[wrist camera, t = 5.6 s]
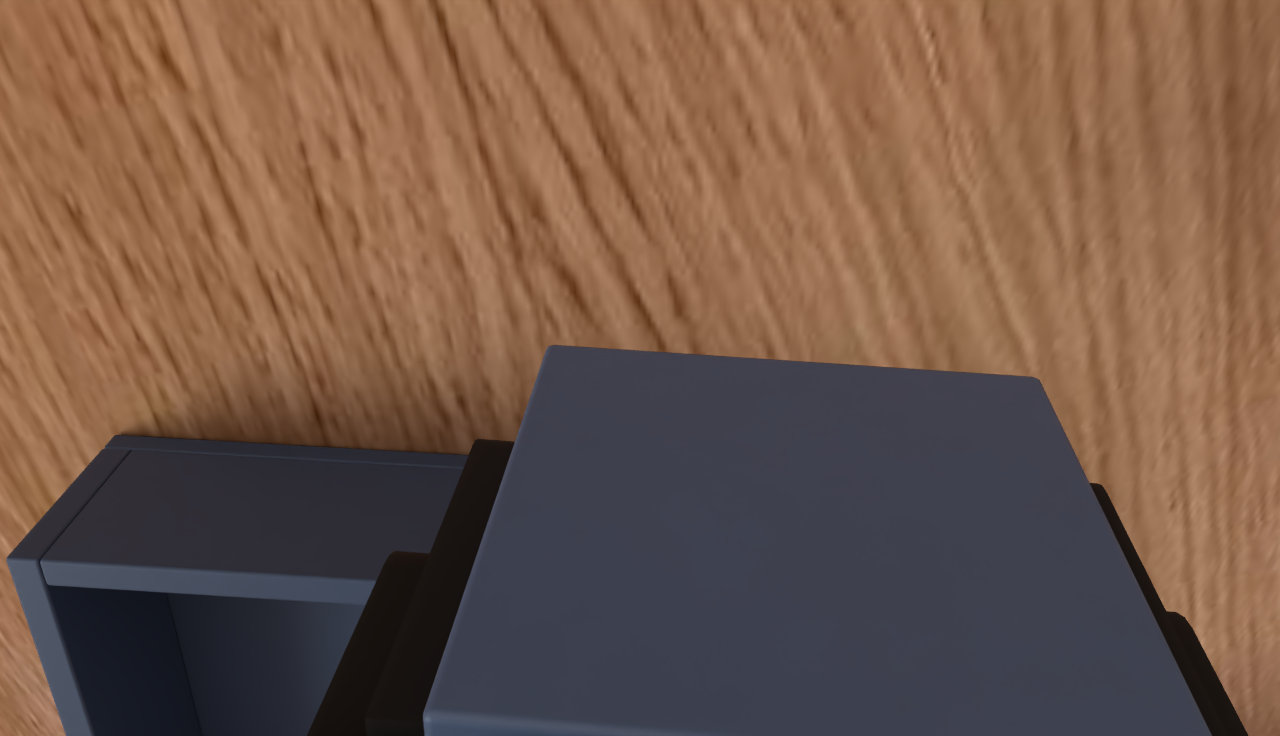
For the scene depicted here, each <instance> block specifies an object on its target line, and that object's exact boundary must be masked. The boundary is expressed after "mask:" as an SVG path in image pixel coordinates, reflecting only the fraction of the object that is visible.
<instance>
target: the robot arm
mask: <svg viewBox="0 0 1280 736" xmlns="http://www.w3.org/2000/svg"><path fill="white" fill-rule="evenodd" d="M514 444H515V442H513V441H499V440H485V439H477V440H475V442H474V444H473V446H472V448H471V451H470V453H469V456H468V458H467V461H466V463H465V466H464V468H463V471H462V473H461V476H460V478H459V481H458V484H457V486H456V489H455V491H454V494H453V496H452V499H451V501H450V504H449V506H448V509H447V511H446V514H445V516H444V519H443V521H442V524H441V526H440V529H439V531H438V534H437V536H436V539H435V541H434V544H433V546H432V549H431V551H430V553H417V552H404V551H394V552H392V553H391V554H390V555H389V556H388V558H387V560H386V561H385V563H384V565H383V567H382V569H381V572H380V574H379V576H378V578H377V581H376V583H375V585H374V587H373V589H372V592H371V594H370V596H369V598H368V601H367V603H366V605H365V607H364V609H363V612H362V614H361V616H360V618H359V621H358V623H357V625H356V627H355V629H354V632H353V634H352V636H351V638H350V641H349V643H348V645H347V647H346V649H345V652H344V654H343V656H342V658H341V661H340V663H339V665H338V667H337V669H336V672H335V674H334V676H333V678H332V681H331V683H330V685H329V687H328V689H327V692H326V694H325V696H324V698H323V701H322V703H321V705H320V707H319V709H318V712H317V714H316V716H315V718H314V721H313V723H312V725H311V727H310V729H309V732H308V734H307V736H425V733H424V722H423V713H424V710H425V707H426V704H427V701H428V698H429V695H430V692H431V689H432V686H433V683H434V680H435V677H436V674H437V671H438V668H439V665H440V662H441V659H442V656H443V653H444V650H445V648H446V645H447V642H448V639H449V636H450V633H451V630H452V627H453V624H454V621H455V618H456V615H457V612H458V609H459V606H460V603H461V600H462V597H463V594H464V591H465V588H466V585H467V582H468V580H469V577H470V574H471V571H472V568H473V565H474V562H475V559H476V556H477V553H478V550H479V547H480V544H481V541H482V538H483V535H484V532H485V529H486V526H487V523H488V520H489V517H490V514H491V512H492V509H493V506H494V503H495V500H496V497H497V494H498V491H499V488H500V485H501V482H502V479H503V476H504V473H505V470H506V467H507V464H508V461H509V458H510V455H511V452H512V449H513V446H514ZM1090 485H1091V487H1092V490H1093V492H1094V494H1095V496H1096V498H1097V500H1098V502H1099V504H1100V506H1101V508H1102V510H1103V512H1104V514H1105V516H1106V518H1107V520H1108V523H1109V525H1110V527H1111V529H1112V531H1113V533H1114V535H1115V537H1116V539H1117V541H1118V543H1119V545H1120V547H1121V549H1122V551H1123V553H1124V556H1125V558H1126V560H1127V562H1128V564H1129V566H1130V568H1131V570H1132V572H1133V574H1134V576H1135V578H1136V580H1137V582H1138V584H1139V587H1140V589H1141V591H1142V593H1143V595H1144V597H1145V599H1146V601H1147V603H1148V605H1149V607H1150V609H1151V611H1152V613H1153V615H1154V617H1155V620H1156V622H1157V624H1158V626H1159V628H1160V630H1161V632H1162V634H1163V636H1164V638H1165V640H1166V642H1167V644H1168V646H1169V648H1170V650H1171V653H1172V655H1173V657H1174V659H1175V661H1176V663H1177V665H1178V667H1179V669H1180V671H1181V673H1182V675H1183V677H1184V679H1185V681H1186V683H1187V686H1188V688H1189V690H1190V692H1191V694H1192V696H1193V698H1194V700H1195V702H1196V704H1197V706H1198V708H1199V710H1200V712H1201V714H1202V716H1203V719H1204V721H1205V723H1206V725H1207V727H1208V729H1209V731H1210V733H1211V735H1212V736H1248V734H1247V732H1246V730H1245V728H1244V726H1243V724H1242V722H1241V721H1240V719H1239V717H1238V715H1237V713H1236V711H1235V709H1234V707H1233V705H1232V703H1231V701H1230V699H1229V698H1228V696H1227V694H1226V692H1225V690H1224V688H1223V686H1222V684H1221V682H1220V680H1219V678H1218V676H1217V675H1216V673H1215V671H1214V669H1213V667H1212V665H1211V663H1210V661H1209V659H1208V657H1207V655H1206V653H1205V652H1204V650H1203V648H1202V646H1201V644H1200V642H1199V640H1198V638H1197V636H1196V634H1195V632H1194V630H1193V629H1192V627H1191V626H1190V624H1189V623H1188V621H1187V620H1186V619H1185V617H1183V616H1182V615H1180V614H1178V613H1177V612H1169V611H1166V610H1165V608H1164V606H1163V604H1162V602H1161V600H1160V598H1159V596H1158V594H1157V592H1156V590H1155V588H1154V586H1153V584H1152V582H1151V580H1150V578H1149V576H1148V574H1147V572H1146V570H1145V568H1144V566H1143V564H1142V562H1141V560H1140V558H1139V556H1138V554H1137V552H1136V550H1135V548H1134V546H1133V544H1132V542H1131V540H1130V538H1129V536H1128V534H1127V532H1126V530H1125V528H1124V526H1123V524H1122V522H1121V520H1120V518H1119V516H1118V514H1117V512H1116V510H1115V508H1114V506H1113V504H1112V502H1111V500H1110V498H1109V496H1108V494H1107V492H1106V491H1105V489H1104V488H1103V486H1102V485H1100V484H1097V483H1090Z"/></svg>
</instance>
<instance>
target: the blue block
mask: <svg viewBox="0 0 1280 736" xmlns="http://www.w3.org/2000/svg"><path fill="white" fill-rule="evenodd" d="M423 722H424V733H425V736H1212V735H1211V733H1210V731H1209V729H1208V727H1207V725H1206V723H1205V721H1204V719H1203V716H1202V714H1201V712H1200V710H1199V708H1198V706H1197V704H1196V702H1195V700H1194V698H1193V696H1192V694H1191V692H1190V690H1189V688H1188V686H1187V683H1186V681H1185V679H1184V677H1183V675H1182V673H1181V671H1180V669H1179V667H1178V665H1177V663H1176V661H1175V659H1174V657H1173V655H1172V653H1171V650H1170V648H1169V646H1168V644H1167V642H1166V640H1165V638H1164V636H1163V634H1162V632H1161V630H1160V628H1159V626H1158V624H1157V622H1156V620H1155V617H1154V615H1153V613H1152V611H1151V609H1150V607H1149V605H1148V603H1147V601H1146V599H1145V597H1144V595H1143V593H1142V591H1141V589H1140V587H1139V584H1138V582H1137V580H1136V578H1135V576H1134V574H1133V572H1132V570H1131V568H1130V566H1129V564H1128V562H1127V560H1126V558H1125V556H1124V553H1123V551H1122V549H1121V547H1120V545H1119V543H1118V541H1117V539H1116V537H1115V535H1114V533H1113V531H1112V529H1111V527H1110V525H1109V523H1108V520H1107V518H1106V516H1105V514H1104V512H1103V510H1102V508H1101V506H1100V504H1099V502H1098V500H1097V498H1096V496H1095V494H1094V492H1093V490H1092V487H1091V485H1090V483H1089V481H1088V479H1087V477H1086V475H1085V473H1084V471H1083V469H1082V467H1081V465H1080V463H1079V461H1078V459H1077V457H1076V454H1075V452H1074V450H1073V448H1072V446H1071V444H1070V442H1069V440H1068V438H1067V436H1066V434H1065V432H1064V430H1063V428H1062V426H1061V424H1060V421H1059V419H1058V417H1057V415H1056V413H1055V411H1054V409H1053V407H1052V405H1051V403H1050V401H1049V399H1048V397H1047V395H1046V393H1045V391H1044V388H1043V386H1042V384H1041V382H1040V380H1038V379H1037V378H1034V377H1027V376H1012V375H997V374H982V373H967V372H952V371H937V370H922V369H907V368H892V367H877V366H862V365H847V364H832V363H817V362H802V361H787V360H772V359H757V358H742V357H727V356H712V355H697V354H682V353H666V352H651V351H636V350H621V349H606V348H591V347H576V346H561V345H552V346H549V347H548V348H547V350H546V352H545V355H544V358H543V361H542V364H541V367H540V370H539V373H538V376H537V378H536V381H535V384H534V387H533V390H532V393H531V396H530V399H529V402H528V405H527V408H526V411H525V414H524V417H523V420H522V423H521V426H520V429H519V432H518V435H517V438H516V441H515V444H514V446H513V449H512V452H511V455H510V458H509V461H508V464H507V467H506V470H505V473H504V476H503V479H502V482H501V485H500V488H499V491H498V494H497V497H496V500H495V503H494V506H493V509H492V512H491V514H490V517H489V520H488V523H487V526H486V529H485V532H484V535H483V538H482V541H481V544H480V547H479V550H478V553H477V556H476V559H475V562H474V565H473V568H472V571H471V574H470V577H469V580H468V582H467V585H466V588H465V591H464V594H463V597H462V600H461V603H460V606H459V609H458V612H457V615H456V618H455V621H454V624H453V627H452V630H451V633H450V636H449V639H448V642H447V645H446V648H445V650H444V653H443V656H442V659H441V662H440V665H439V668H438V671H437V674H436V677H435V680H434V683H433V686H432V689H431V692H430V695H429V698H428V701H427V704H426V707H425V710H424V713H423Z"/></svg>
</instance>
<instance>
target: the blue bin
mask: <svg viewBox="0 0 1280 736" xmlns="http://www.w3.org/2000/svg"><path fill="white" fill-rule="evenodd" d="M468 456H469V455H455V454H438V453H420V452H403V451H386V450H368V449H351V448H334V447H316V446H299V445H282V444H264V443H247V442H230V441H212V440H195V439H178V438H160V437H143V436H126V435H115V436H114V437H113V438H112V439H111V440H110V441H109V442H108V444H107V445H106V446H105V449H102V450H101V451H100V453H99V454H98V455H97V456H96V457H95V458H94V459H93V461H92V462H91V463H90V464H89V465H88V466H87V467H86V468H85V470H84V471H83V472H82V473H81V474H80V475H79V476H78V478H77V479H76V480H75V481H74V482H73V483H72V484H71V485H70V487H69V488H68V489H67V490H66V491H65V492H64V493H63V495H62V496H61V497H60V498H59V499H58V500H57V501H56V502H55V504H54V505H53V506H52V507H51V508H50V509H49V510H48V512H47V513H46V514H45V515H44V516H43V517H42V518H41V519H40V521H39V522H38V523H37V524H36V525H35V526H34V527H33V529H32V530H31V531H30V532H29V533H28V534H27V535H26V536H25V538H24V539H23V540H22V541H21V542H20V543H19V544H18V546H17V547H16V548H15V549H14V550H13V551H12V552H11V553H10V555H9V556H8V557H7V564H8V567H9V569H10V572H11V575H12V578H13V581H14V584H15V587H16V590H17V593H18V596H19V599H20V602H21V605H22V608H23V611H24V613H25V616H26V619H27V622H28V625H29V628H30V631H31V634H32V637H33V640H34V643H35V646H36V649H37V652H38V654H39V657H40V660H41V663H42V666H43V669H44V672H45V675H46V678H47V681H48V684H49V687H50V690H51V693H52V696H53V698H54V701H55V704H56V707H57V710H58V713H59V716H60V719H61V722H62V725H63V728H64V731H65V734H66V736H307V734H308V732H309V729H310V727H311V725H312V723H313V721H314V718H315V716H316V714H317V712H318V709H319V707H320V705H321V703H322V701H323V698H324V696H325V694H326V692H327V689H328V687H329V685H330V683H331V681H332V678H333V676H334V674H335V672H336V669H337V667H338V665H339V663H340V661H341V658H342V656H343V654H344V652H345V649H346V647H347V645H348V643H349V641H350V638H351V636H352V634H353V632H354V629H355V627H356V625H357V623H358V621H359V618H360V616H361V614H362V612H363V609H364V607H365V605H366V603H367V601H368V598H369V596H370V594H371V592H372V589H373V587H374V585H375V583H376V581H377V578H378V576H379V574H380V572H381V569H382V567H383V565H384V563H385V561H386V560H387V558H388V556H389V555H390V554H391V553H392V552H394V551H404V552H417V553H430V551H431V549H432V546H433V544H434V541H435V539H436V536H437V534H438V531H439V529H440V526H441V524H442V521H443V519H444V516H445V514H446V511H447V509H448V506H449V504H450V501H451V499H452V496H453V494H454V491H455V489H456V486H457V484H458V481H459V478H460V476H461V473H462V471H463V468H464V466H465V463H466V461H467V458H468Z"/></svg>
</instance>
